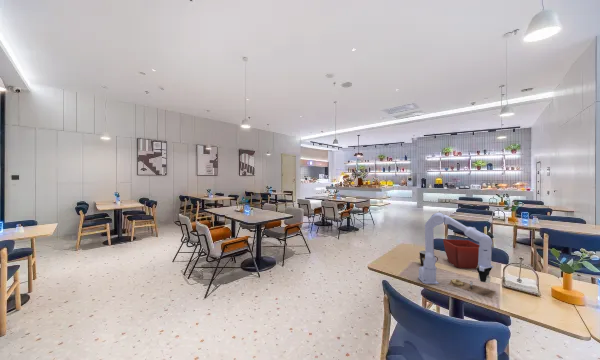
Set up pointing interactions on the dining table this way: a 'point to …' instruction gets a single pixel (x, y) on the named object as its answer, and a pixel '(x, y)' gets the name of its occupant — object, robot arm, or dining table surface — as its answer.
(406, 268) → the dining table surface
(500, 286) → the dining table surface
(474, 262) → the plant pot
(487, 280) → the cream gear ring
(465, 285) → the walnut gear board
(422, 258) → the coffee mug
